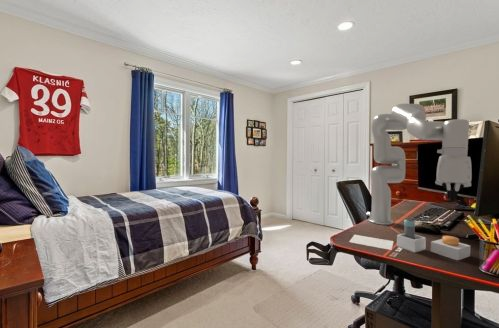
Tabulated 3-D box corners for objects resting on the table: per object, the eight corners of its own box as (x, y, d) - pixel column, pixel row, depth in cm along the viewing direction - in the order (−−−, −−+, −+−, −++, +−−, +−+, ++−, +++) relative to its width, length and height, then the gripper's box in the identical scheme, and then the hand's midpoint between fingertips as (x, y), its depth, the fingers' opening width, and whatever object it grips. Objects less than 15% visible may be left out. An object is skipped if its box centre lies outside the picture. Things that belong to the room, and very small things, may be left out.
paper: (348, 242, 109) (348, 241, 109) (354, 234, 119) (354, 234, 119) (391, 250, 100) (391, 249, 100) (393, 241, 110) (393, 241, 110)
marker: (402, 246, 104) (401, 219, 104) (407, 244, 105) (407, 218, 105) (411, 248, 100) (411, 221, 100) (417, 247, 102) (416, 220, 102)
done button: (439, 241, 98) (439, 236, 98) (446, 239, 101) (446, 234, 101) (454, 246, 94) (454, 240, 94) (461, 243, 96) (461, 238, 96)
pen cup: (396, 246, 104) (397, 234, 104) (407, 244, 108) (407, 232, 107) (414, 253, 98) (415, 240, 98) (425, 250, 101) (425, 237, 101)
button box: (430, 251, 99) (430, 241, 99) (442, 248, 103) (443, 238, 103) (457, 260, 91) (458, 249, 91) (470, 256, 96) (470, 245, 95)
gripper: (430, 152, 97) (428, 200, 98) (483, 153, 89) (480, 205, 90) (429, 152, 103) (427, 197, 104) (478, 153, 95) (475, 201, 96)
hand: (451, 200), depth 97 cm, fingers closed
